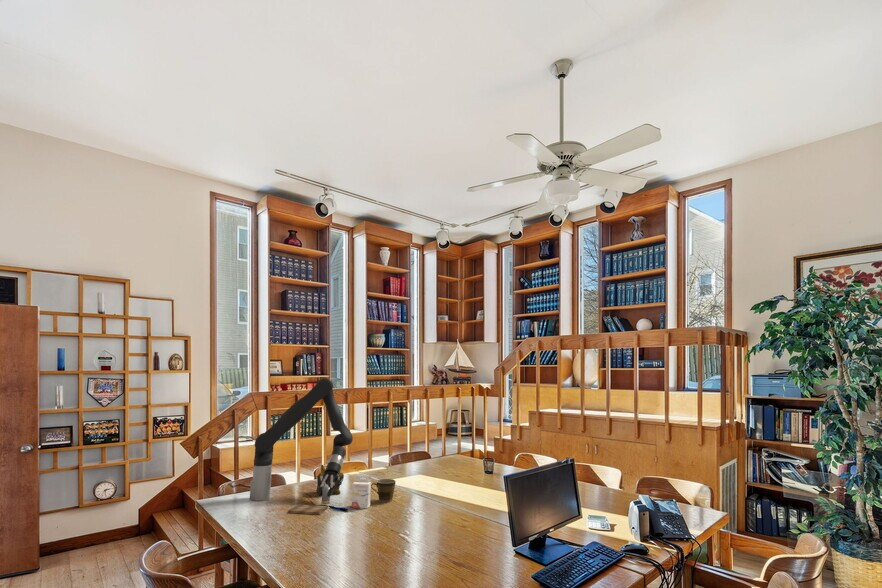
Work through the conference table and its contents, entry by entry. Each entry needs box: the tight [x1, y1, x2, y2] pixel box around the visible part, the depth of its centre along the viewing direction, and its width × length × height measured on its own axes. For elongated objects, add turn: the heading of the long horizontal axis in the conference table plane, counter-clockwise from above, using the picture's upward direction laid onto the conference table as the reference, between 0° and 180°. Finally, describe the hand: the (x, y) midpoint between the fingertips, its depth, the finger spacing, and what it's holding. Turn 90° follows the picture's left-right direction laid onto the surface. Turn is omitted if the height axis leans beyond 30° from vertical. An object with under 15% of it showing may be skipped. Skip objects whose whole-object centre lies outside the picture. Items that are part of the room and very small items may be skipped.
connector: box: [320, 485, 331, 505], centre depth 241 cm, size 4×4×9 cm
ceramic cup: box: [371, 478, 397, 504], centre depth 250 cm, size 13×10×10 cm
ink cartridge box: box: [351, 474, 372, 509], centre depth 240 cm, size 9×5×15 cm, turn 84°
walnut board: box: [287, 503, 329, 516], centre depth 231 cm, size 16×10×1 cm, turn 82°
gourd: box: [315, 464, 345, 495], centre depth 264 cm, size 14×14×14 cm
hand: (324, 495), depth 239 cm, fingers closed on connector, 4 cm apart
